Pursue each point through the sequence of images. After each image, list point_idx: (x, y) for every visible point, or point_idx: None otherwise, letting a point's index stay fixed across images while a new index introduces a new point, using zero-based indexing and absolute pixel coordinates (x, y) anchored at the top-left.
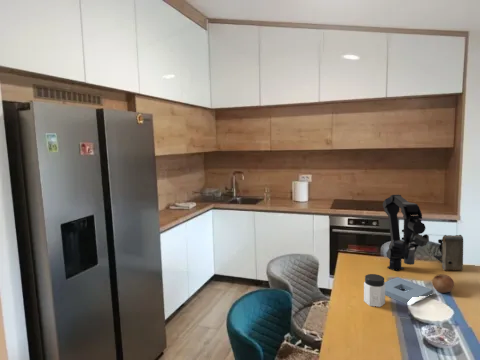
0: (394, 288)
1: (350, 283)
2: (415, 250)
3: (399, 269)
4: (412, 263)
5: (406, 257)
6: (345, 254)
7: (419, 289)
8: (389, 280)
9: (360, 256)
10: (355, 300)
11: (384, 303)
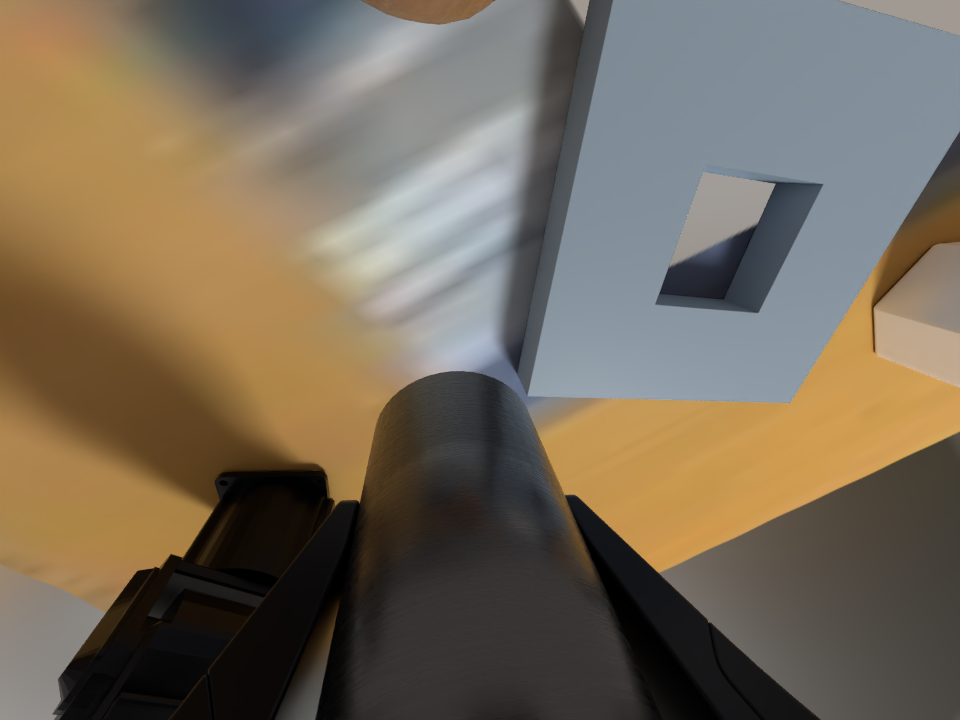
0: (780, 294)
1: (712, 505)
2: (216, 703)
3: (288, 477)
4: (492, 387)
5: (603, 532)
6: None
7: (705, 98)
8: (636, 397)
9: None
10: (921, 381)
11: (948, 243)
